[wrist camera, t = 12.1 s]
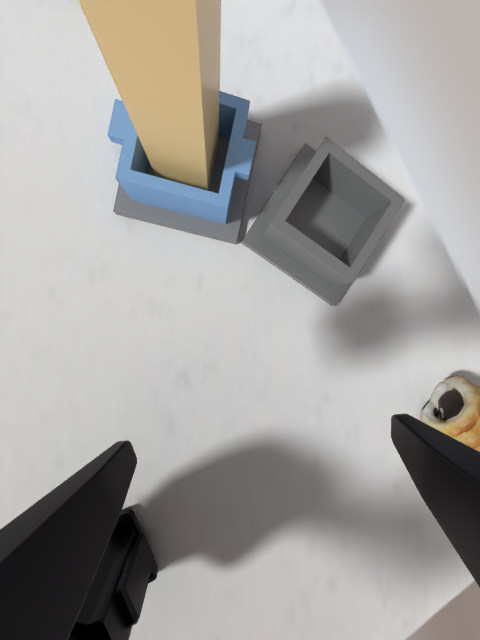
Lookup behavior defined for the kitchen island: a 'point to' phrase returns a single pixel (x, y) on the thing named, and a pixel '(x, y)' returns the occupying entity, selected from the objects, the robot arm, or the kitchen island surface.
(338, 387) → the kitchen island surface
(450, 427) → the pastry
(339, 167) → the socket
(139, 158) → the blue bezel socket
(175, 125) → the tall tan pillar
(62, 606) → the robot arm
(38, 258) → the kitchen island surface
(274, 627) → the kitchen island surface
